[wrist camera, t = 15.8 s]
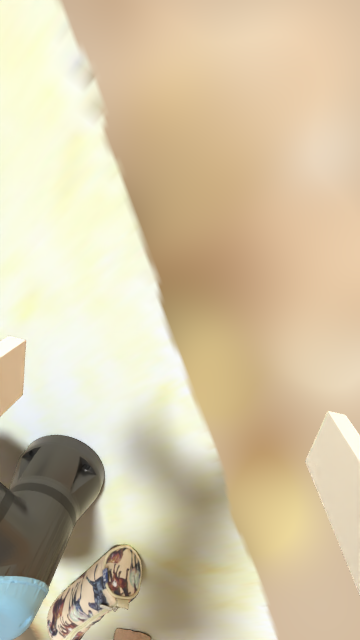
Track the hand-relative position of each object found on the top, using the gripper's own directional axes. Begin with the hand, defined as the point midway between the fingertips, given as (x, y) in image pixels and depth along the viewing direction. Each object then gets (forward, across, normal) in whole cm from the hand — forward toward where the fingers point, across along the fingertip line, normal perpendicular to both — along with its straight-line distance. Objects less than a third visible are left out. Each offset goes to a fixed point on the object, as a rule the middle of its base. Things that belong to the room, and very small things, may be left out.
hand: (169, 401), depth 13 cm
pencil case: (+32, -5, -65) cm, 72 cm away
